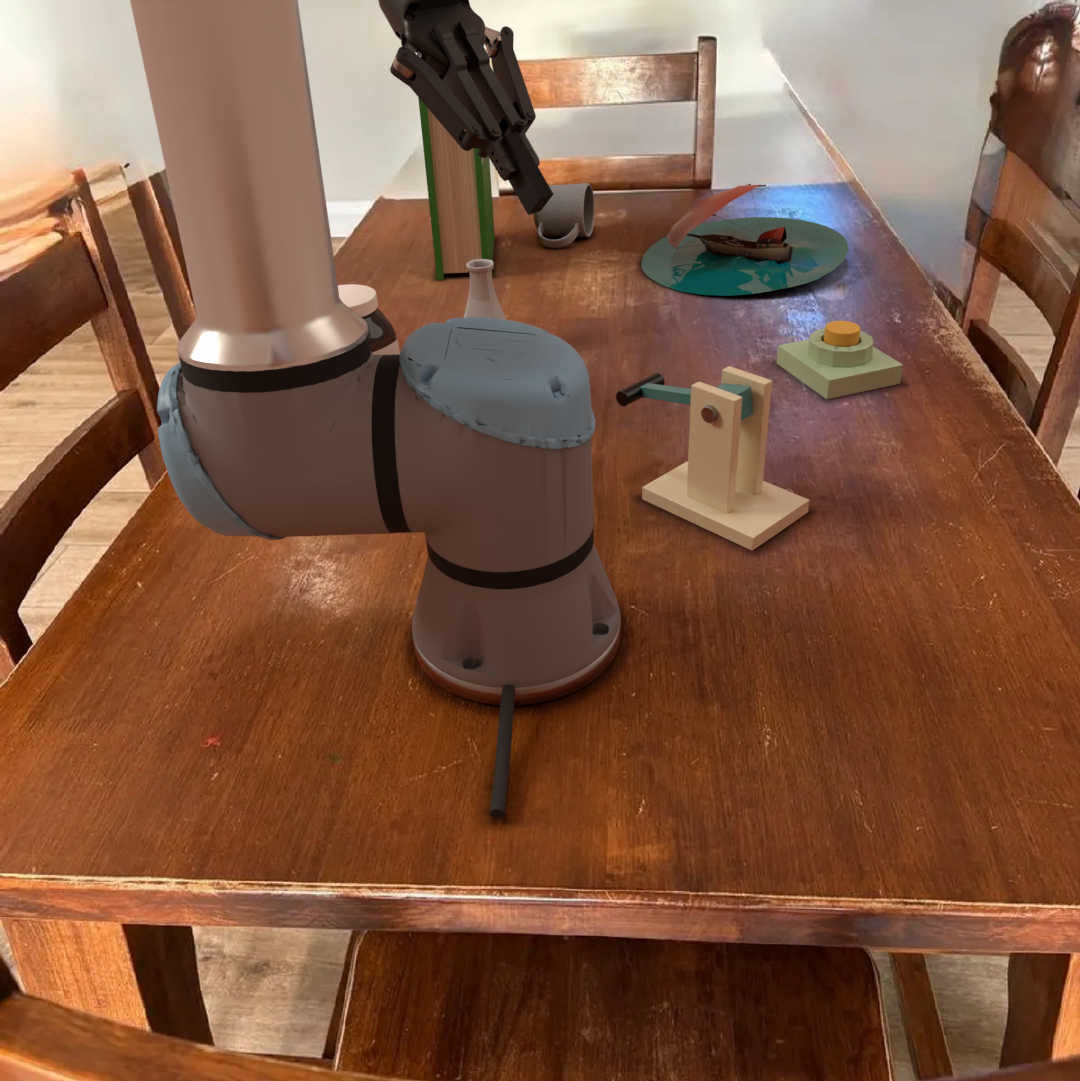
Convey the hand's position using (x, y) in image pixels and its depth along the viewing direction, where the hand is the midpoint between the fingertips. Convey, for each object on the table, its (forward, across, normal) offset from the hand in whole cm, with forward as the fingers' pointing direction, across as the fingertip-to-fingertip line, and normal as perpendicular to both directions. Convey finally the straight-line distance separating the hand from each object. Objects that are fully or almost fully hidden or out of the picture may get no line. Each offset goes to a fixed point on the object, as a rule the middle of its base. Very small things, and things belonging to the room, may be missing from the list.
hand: (540, 204), depth 90 cm
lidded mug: (+2, +13, -30) cm, 33 cm away
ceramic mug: (-14, -41, -48) cm, 65 cm away
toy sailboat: (+5, -50, -29) cm, 58 cm away
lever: (+23, 0, +3) cm, 23 cm away
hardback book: (-17, -25, -51) cm, 59 cm away
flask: (+2, -7, -31) cm, 32 cm away
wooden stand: (+32, 0, +1) cm, 32 cm away
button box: (+26, -29, -6) cm, 39 cm away
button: (+23, -29, -4) cm, 37 cm away
